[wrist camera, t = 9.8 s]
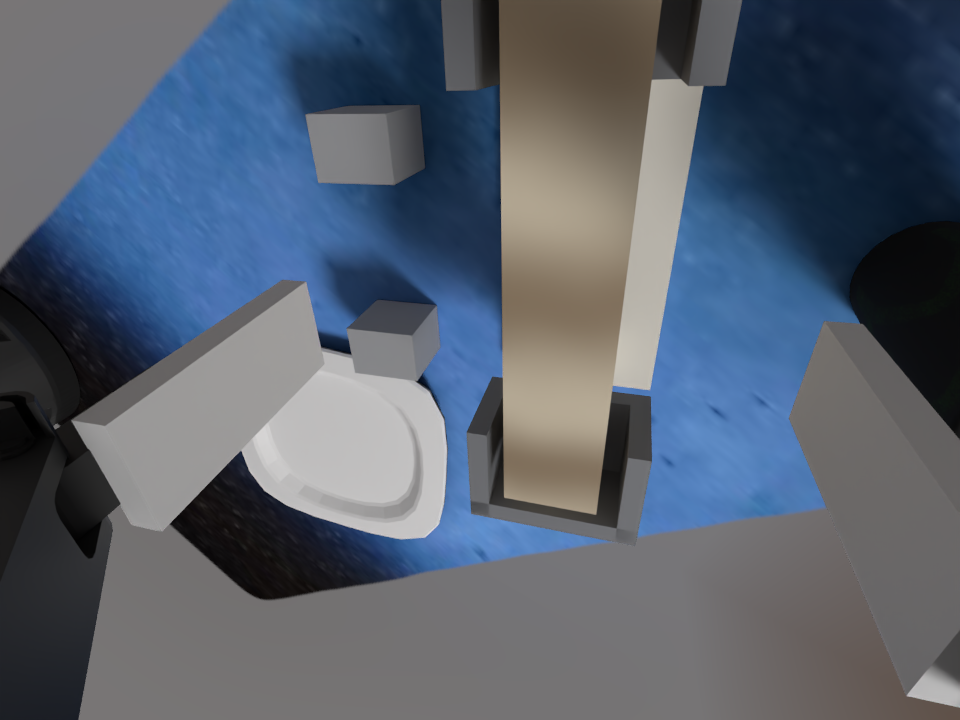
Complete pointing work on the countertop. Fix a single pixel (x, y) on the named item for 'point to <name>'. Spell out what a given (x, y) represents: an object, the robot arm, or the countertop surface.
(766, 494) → the countertop surface
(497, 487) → the bracket stand
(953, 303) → the cup
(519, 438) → the rail
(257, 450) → the plate
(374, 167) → the rests
